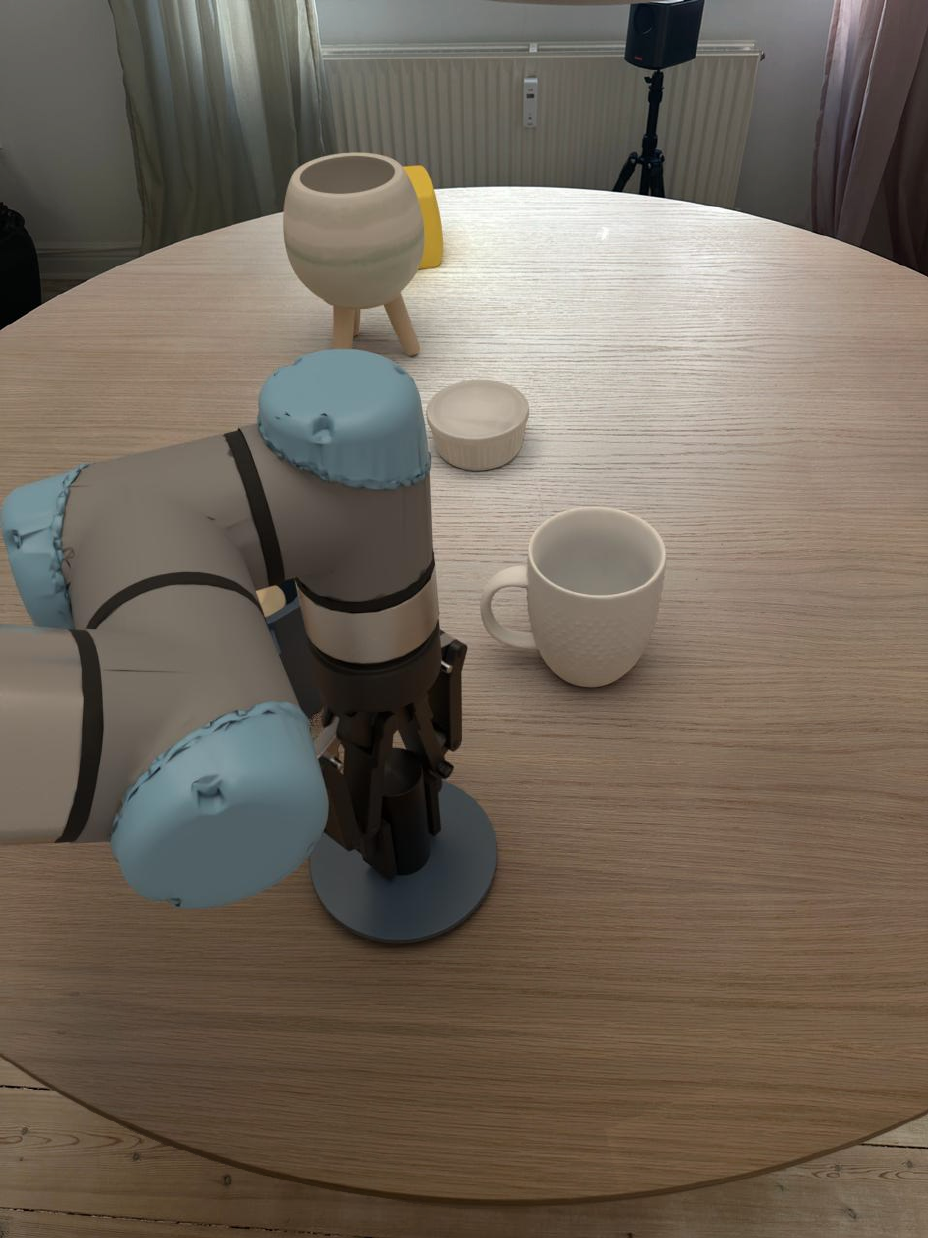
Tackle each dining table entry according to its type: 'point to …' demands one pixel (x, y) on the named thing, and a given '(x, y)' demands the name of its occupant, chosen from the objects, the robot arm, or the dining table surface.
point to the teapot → (428, 216)
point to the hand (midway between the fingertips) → (402, 844)
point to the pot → (295, 650)
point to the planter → (355, 239)
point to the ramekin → (478, 423)
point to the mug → (586, 593)
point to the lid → (411, 863)
